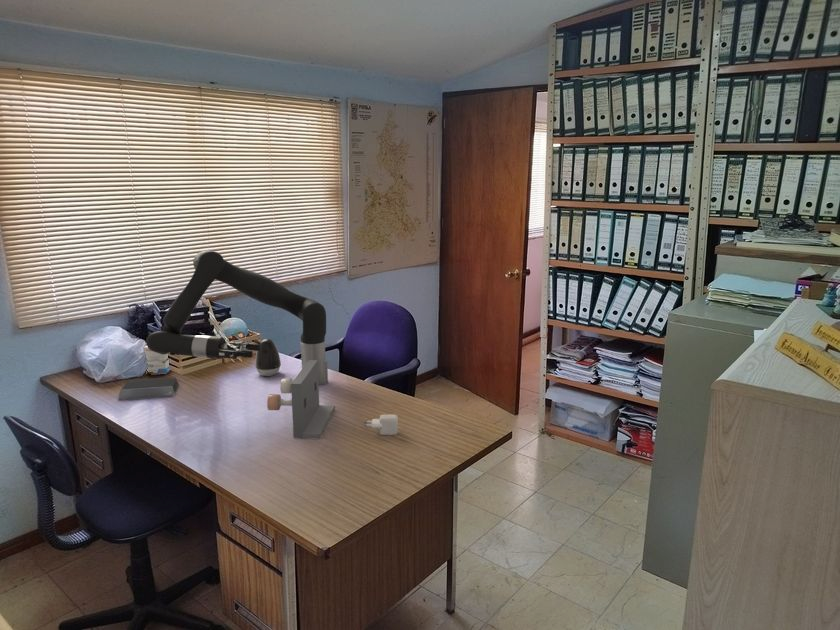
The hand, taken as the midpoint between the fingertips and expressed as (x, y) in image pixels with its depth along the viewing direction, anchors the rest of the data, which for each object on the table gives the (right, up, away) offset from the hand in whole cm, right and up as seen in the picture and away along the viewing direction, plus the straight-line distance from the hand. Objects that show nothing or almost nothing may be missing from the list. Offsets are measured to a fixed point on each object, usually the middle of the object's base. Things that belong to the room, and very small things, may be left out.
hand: (256, 350), depth 203 cm
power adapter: (+43, -26, -11) cm, 51 cm away
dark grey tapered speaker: (-7, -12, +45) cm, 47 cm away
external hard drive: (-47, -18, +24) cm, 56 cm away
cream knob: (+14, -15, +3) cm, 20 cm away
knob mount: (+21, -24, -3) cm, 32 cm away
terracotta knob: (+13, -18, -12) cm, 25 cm away
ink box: (-53, -12, +46) cm, 71 cm away
